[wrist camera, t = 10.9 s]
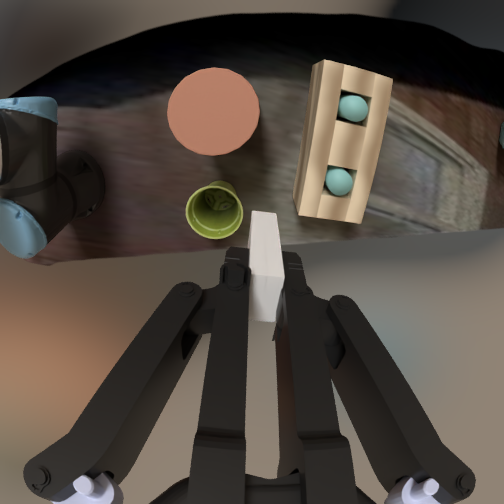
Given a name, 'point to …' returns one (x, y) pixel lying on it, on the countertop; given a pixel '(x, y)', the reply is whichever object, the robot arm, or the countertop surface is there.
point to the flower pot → (502, 135)
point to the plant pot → (215, 210)
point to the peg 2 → (338, 180)
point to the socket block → (340, 141)
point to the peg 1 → (352, 108)
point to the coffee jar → (213, 111)
